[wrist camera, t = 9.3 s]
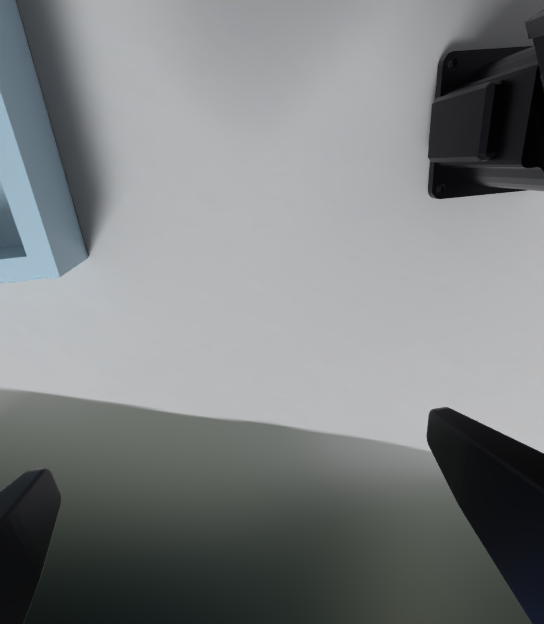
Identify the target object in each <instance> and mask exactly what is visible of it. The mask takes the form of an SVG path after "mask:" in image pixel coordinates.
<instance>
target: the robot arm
mask: <svg viewBox="0 0 544 624" xmlns="http://www.w3.org/2000/svg"><path fill="white" fill-rule="evenodd" d="M525 24H526V28H527V33H528V37H529V39H531V38H533V42H534V46H528V47H513V48H497V49H481V50H466V51H453V52H450V53H448V54H446V55H445V56H443V57H442V58H441V60H440V62H439V65H438V73H437V85H436V97H435V101H434V103H433V104H432V113H431V126H430V138H429V151H428V158H429V159H430V171H429V183H428V193H429V195H430V196H431V197H432V198H436V199H445V198H455V197H465V196H475V195H485V194H495V193H505V192H515V191H525V190H536V191H544V10H542V11H541V12H539V13H538V14H536V15H534V16H533V17H531V18H530V19H528V20H527V21H526V22H525ZM449 60H451V61H452V62H453V68H452V70H449V68H448V62H449ZM438 185H441V191H440V192H439V193H437V190H436V189H437V186H438ZM427 442H428V445H429V447H430V449H431V451H432V453H433V455H434V457H435V459H436V461H437V463H438V465H439V467H440V469H441V471H442V473H443V475H444V477H445V479H446V481H447V483H448V485H449V487H450V489H451V491H452V493H453V495H454V497H455V499H456V501H457V503H458V505H459V507H460V508H461V510H462V511H463V513H464V515H465V517H466V518H467V520H468V521H469V523H470V524H471V526H472V528H473V529H474V531H475V533H476V534H477V536H478V537H479V539H480V541H481V542H482V544H483V545H484V547H485V548H486V550H487V552H488V553H489V555H490V557H491V558H492V560H493V562H494V563H495V565H496V566H497V568H498V569H499V571H500V573H501V574H502V576H503V578H504V579H505V581H506V582H507V584H508V585H509V587H510V589H511V590H512V592H513V593H514V595H515V597H516V598H517V600H518V602H519V603H520V605H521V606H522V608H523V609H524V611H525V613H526V615H527V616H528V618H529V619H530V621H531V623H532V624H544V453H542V452H540V451H537V450H535V449H533V448H531V447H529V446H527V445H525V444H523V443H521V442H519V441H517V440H515V439H513V438H511V437H508V436H506V435H504V434H502V433H500V432H498V431H496V430H494V429H492V428H490V427H488V426H486V425H484V424H482V423H479V422H477V421H475V420H473V419H471V418H469V417H467V416H465V415H463V414H461V413H459V412H457V411H455V410H453V409H450V408H448V407H443V408H436V409H432V410H431V411H430V412H429V418H428V427H427ZM60 504H61V495H60V491H59V489H58V487H57V484H56V482H55V479H54V477H53V475H52V473H51V471H50V470H49V469H48V468H40V469H33V470H29V471H27V472H25V473H24V474H22V475H21V476H20V477H19V478H17V479H16V480H15V481H14V482H12V483H11V484H10V485H8V486H7V487H6V488H5V489H3V490H2V491H1V492H0V624H23V623H24V621H25V618H26V615H27V613H28V610H29V607H30V604H31V602H32V599H33V597H34V594H35V591H36V588H37V586H38V583H39V580H40V577H41V574H42V570H43V567H44V563H45V559H46V556H47V552H48V548H49V545H50V541H51V537H52V534H53V530H54V526H55V522H56V519H57V515H58V512H59V508H60Z"/></svg>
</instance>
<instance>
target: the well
mask: <svg viewBox="0 0 544 624" xmlns="http://www.w3.org/2000/svg"><path fill="white" fill-rule="evenodd" d="M87 258H88V255H87V251H86V248H85V244H84V241H83V237H82V234H81V230H80V227H79V223H78V219H77V216H76V212H75V209H74V205H73V202H72V198H71V195H70V191H69V188H68V184H67V181H66V177H65V173H64V170H63V166H62V163H61V159H60V156H59V152H58V149H57V145H56V142H55V138H54V135H53V131H52V127H51V124H50V120H49V117H48V113H47V110H46V106H45V103H44V99H43V96H42V92H41V89H40V85H39V81H38V78H37V74H36V71H35V67H34V64H33V60H32V57H31V53H30V50H29V46H28V42H27V39H26V35H25V32H24V28H23V25H22V21H21V18H20V14H19V11H18V7H17V4H16V0H0V284H2V283H11V282H20V281H29V280H38V279H47V278H57V277H61V276H62V275H64V274H65V273H67V272H68V271H70V270H71V269H72V268H74V267H75V266H77V265H78V264H80V263H81V262H83V261H84V260H86V259H87Z"/></svg>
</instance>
